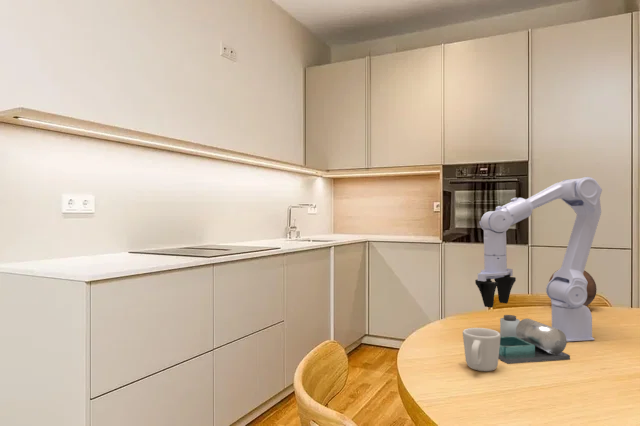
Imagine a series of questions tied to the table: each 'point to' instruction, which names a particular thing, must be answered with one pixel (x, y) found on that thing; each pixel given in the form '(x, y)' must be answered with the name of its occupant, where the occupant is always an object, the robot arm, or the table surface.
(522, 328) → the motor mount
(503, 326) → the grey capped cylinder
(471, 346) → the cup
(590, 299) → the wooden sphere
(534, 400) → the table surface
